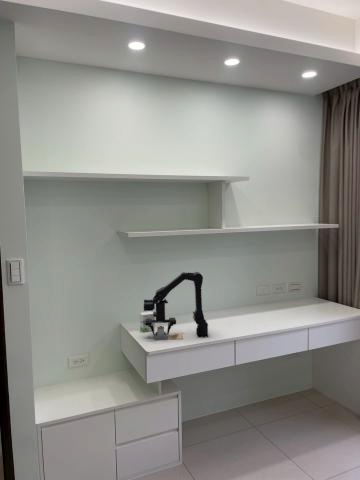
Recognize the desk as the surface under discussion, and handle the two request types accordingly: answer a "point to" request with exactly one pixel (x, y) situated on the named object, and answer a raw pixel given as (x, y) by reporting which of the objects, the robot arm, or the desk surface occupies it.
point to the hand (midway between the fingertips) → (160, 335)
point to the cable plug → (160, 331)
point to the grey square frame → (160, 337)
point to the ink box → (142, 321)
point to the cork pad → (175, 336)
